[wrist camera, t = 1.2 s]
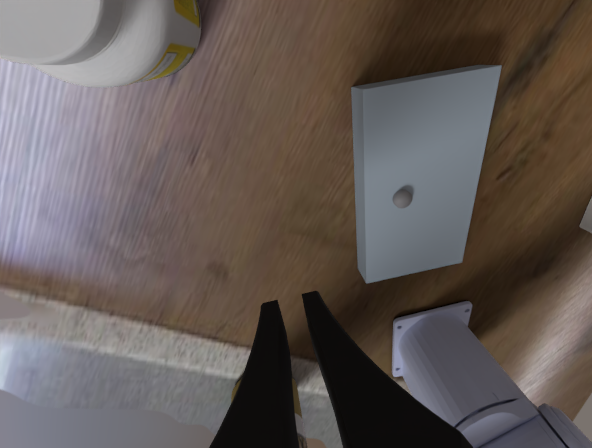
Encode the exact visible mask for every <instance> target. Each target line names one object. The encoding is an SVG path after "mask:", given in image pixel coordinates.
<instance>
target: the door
mask: <svg viewBox="0 0 592 448" xmlns="http://www.w3.org/2000/svg"><path fill="white" fill-rule="evenodd" d="M501 67H502V65H474V66H468V67H463V68H457V69H451V70H446V71H440V72H434V73H428V74H423V75H417V76H411V77H405V78H400V79H394V80H388V81H382V82H377V83H371V84H365V85H359V86H354V87H351V93H352V120H353V148H354V175H355V203H356V231H357V258H358V269H359V271H360V273H361V275H362V277H363V279H364V280H365V282H366V284H367V283H372V282H376V281H381V280H385V279H390V278H394V277H399V276H403V275H408V274H412V273H417V272H421V271H426V270H430V269H435V268H439V267H444V266H448V265H453V264H457V263H462V260H463V255H464V250H465V245H466V240H467V235H468V230H469V225H470V220H471V215H472V210H473V205H474V200H475V195H476V191H477V186H478V181H479V176H480V171H481V166H482V161H483V156H484V151H485V146H486V141H487V136H488V131H489V126H490V121H491V116H492V112H493V107H494V102H495V97H496V92H497V87H498V82H499V77H500V72H501Z"/></svg>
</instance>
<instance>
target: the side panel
mask: <svg viewBox="0 0 592 448" xmlns="http://www.w3.org/2000/svg"><path fill="white" fill-rule="evenodd" d="M579 227H580V228H582V229H584V230H586V231H588V232H590V233H592V197H591V199H590V202H589V204H588V206H587V209H586V211H585V214H584V216H583V218H582V221H581V223H580V225H579Z"/></svg>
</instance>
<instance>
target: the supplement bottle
mask: <svg viewBox="0 0 592 448" xmlns="http://www.w3.org/2000/svg"><path fill="white" fill-rule="evenodd" d="M200 35H201V16H200V10H199V5H198V2H197V0H0V58H1V59H4V60H7V61H11V62H16V63H22V64H29V65H31V66H33V67H34V68H36V69H38V70H40V71H41V72H43V73H45V74H47V75H50V76H52V77H54V78H56V79H59V80H62V81H65V82H68V83H72V84H76V85H80V86H85V87H95V88H108V87H118V86H124V85H128V84H133V83H138V82H143V81H148V80H152V79H157V78H162V77H166V76H169V75H172V74H174V73H176V72H178V71H179V70H181V69H182V68H184V67H185V66H186V65H187V64H188V63H189V62H190V60H191V59H192V57H193V56H194V54H195V52H196V50H197V47H198V44H199V41H200Z"/></svg>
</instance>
